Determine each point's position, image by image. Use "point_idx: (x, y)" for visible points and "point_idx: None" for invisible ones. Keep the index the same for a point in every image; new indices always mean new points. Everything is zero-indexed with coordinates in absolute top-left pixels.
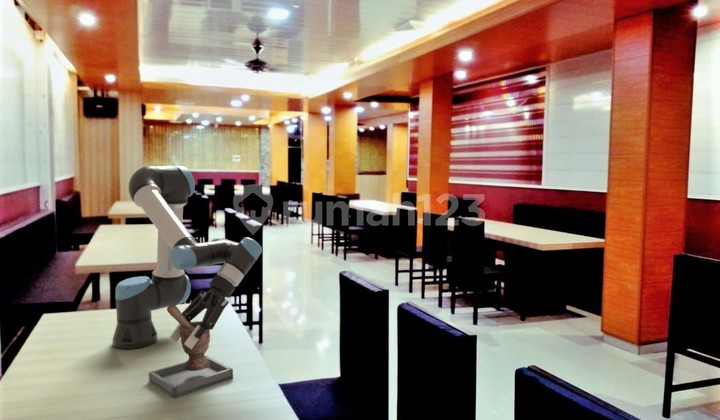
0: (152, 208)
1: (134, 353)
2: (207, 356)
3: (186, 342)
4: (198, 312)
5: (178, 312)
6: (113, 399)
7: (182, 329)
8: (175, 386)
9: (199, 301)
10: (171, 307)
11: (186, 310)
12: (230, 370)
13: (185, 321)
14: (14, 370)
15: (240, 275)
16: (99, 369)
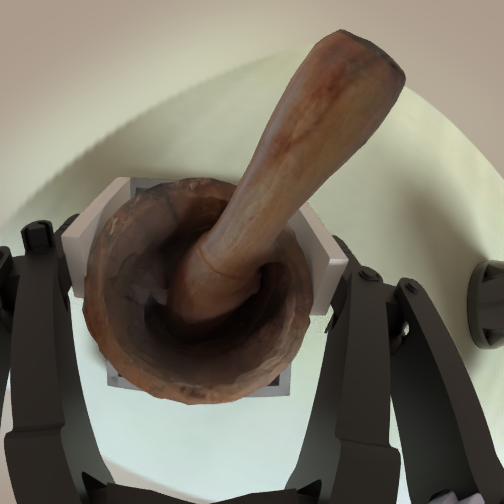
0: None
1: (453, 276)
2: (277, 394)
3: (115, 181)
4: (319, 396)
5: (283, 108)
6: (247, 113)
7: (193, 178)
8: (131, 185)
9: (370, 453)
10: (328, 35)
11: (417, 313)
12: (107, 376)
13: (232, 206)
14: (452, 124)
15: None
16: (415, 182)
